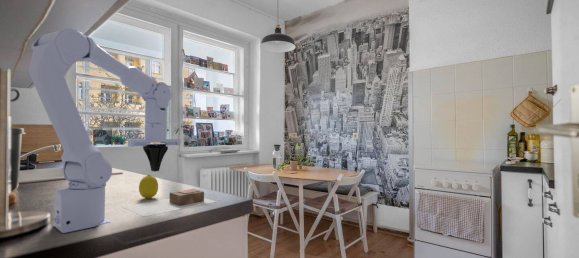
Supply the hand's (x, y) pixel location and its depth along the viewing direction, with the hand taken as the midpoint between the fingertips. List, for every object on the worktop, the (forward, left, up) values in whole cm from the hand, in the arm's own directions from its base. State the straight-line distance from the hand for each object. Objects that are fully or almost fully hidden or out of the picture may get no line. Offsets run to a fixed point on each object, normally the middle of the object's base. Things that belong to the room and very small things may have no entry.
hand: (155, 170), depth 87 cm
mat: (+4, -2, -10) cm, 11 cm away
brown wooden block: (+4, -3, -8) cm, 10 cm away
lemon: (+3, +10, -11) cm, 15 cm away
